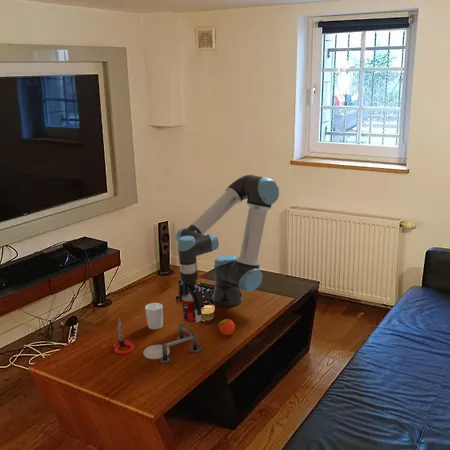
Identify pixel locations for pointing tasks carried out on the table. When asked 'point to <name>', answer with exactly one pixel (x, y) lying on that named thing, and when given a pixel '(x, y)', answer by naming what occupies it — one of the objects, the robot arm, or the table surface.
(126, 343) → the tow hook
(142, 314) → the table surface
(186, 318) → the canned food
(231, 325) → the clementine
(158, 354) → the coaster
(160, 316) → the white cup
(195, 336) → the grey angled bar frame
